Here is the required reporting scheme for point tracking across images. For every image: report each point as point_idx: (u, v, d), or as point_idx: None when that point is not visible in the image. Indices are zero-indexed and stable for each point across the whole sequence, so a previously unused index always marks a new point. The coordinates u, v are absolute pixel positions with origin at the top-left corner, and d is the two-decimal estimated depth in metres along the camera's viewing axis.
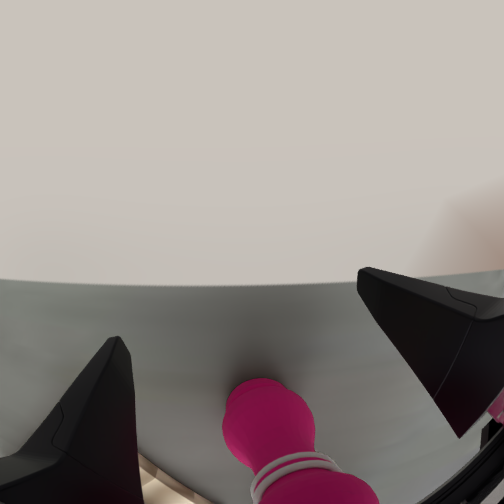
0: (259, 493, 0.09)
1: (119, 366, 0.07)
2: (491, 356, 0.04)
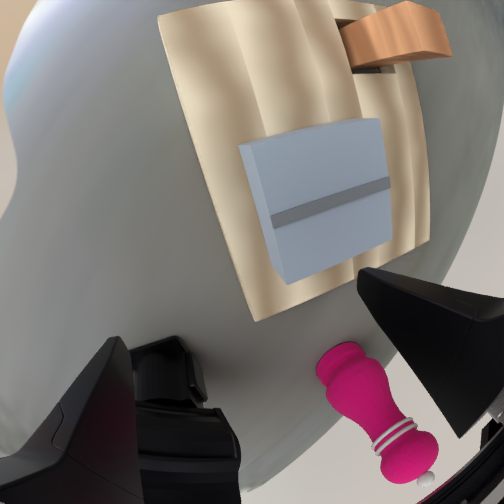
0: (416, 426, 0.19)
1: (119, 366, 0.07)
2: (491, 356, 0.04)
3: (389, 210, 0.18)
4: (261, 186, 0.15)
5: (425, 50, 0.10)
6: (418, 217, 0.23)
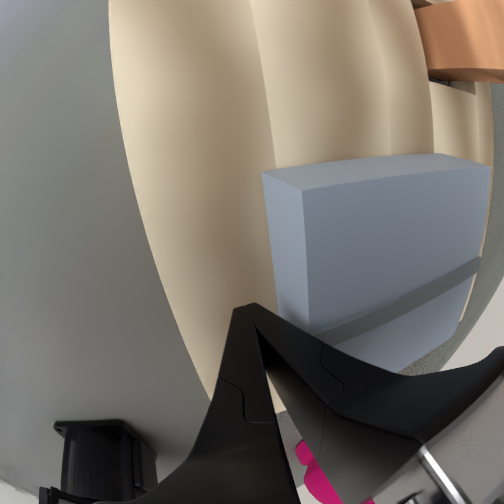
0: None
1: None
2: (352, 455, 0.04)
3: (464, 302, 0.10)
4: (305, 280, 0.07)
5: None
6: None
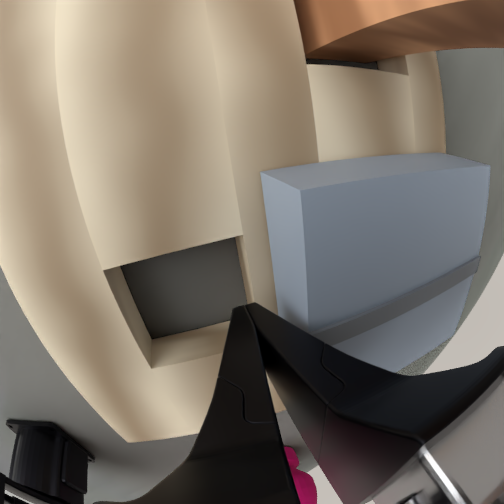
0: None
1: None
2: (352, 455, 0.04)
3: (464, 301, 0.10)
4: (304, 279, 0.07)
5: None
6: None
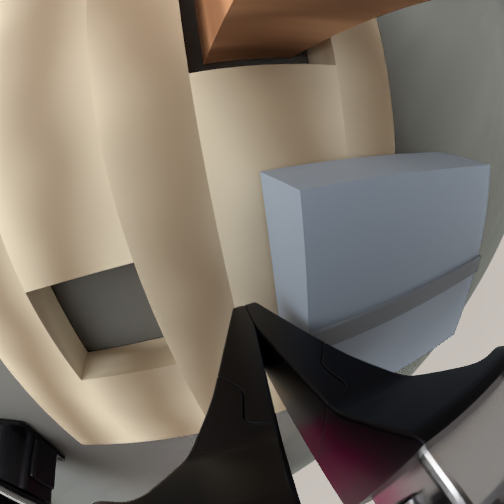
0: None
1: None
2: (352, 455, 0.04)
3: (464, 300, 0.10)
4: (304, 279, 0.07)
5: None
6: None
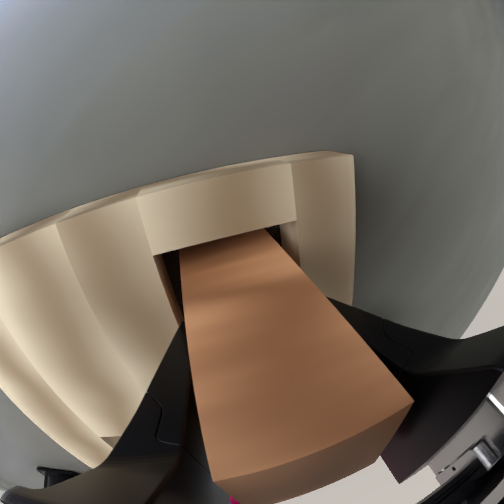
0: None
1: None
2: (423, 413, 0.04)
3: None
4: None
5: None
6: None
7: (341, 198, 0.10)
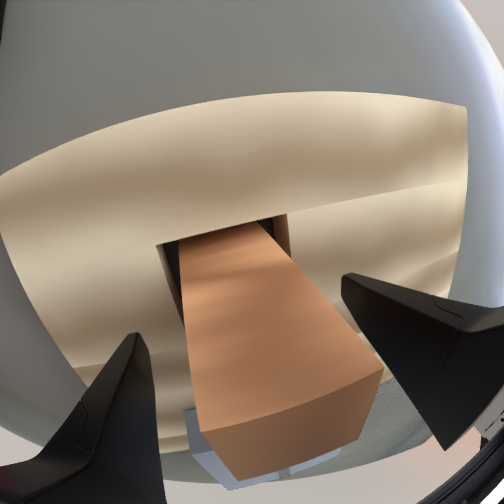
0: None
1: (140, 362, 0.07)
2: (476, 370, 0.04)
3: (258, 483, 0.15)
4: None
5: None
6: (183, 438, 0.15)
7: None
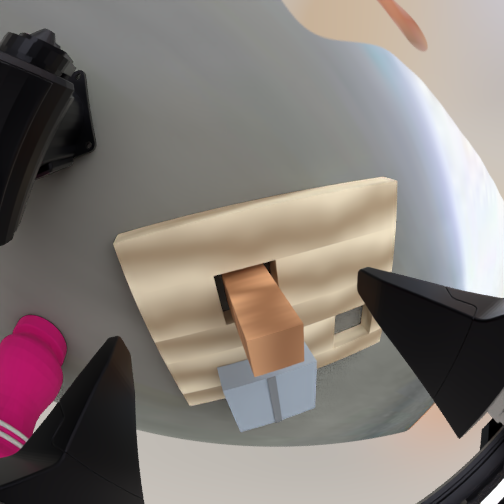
0: None
1: (119, 366, 0.07)
2: (490, 356, 0.04)
3: (260, 425, 0.27)
4: (292, 368, 0.23)
5: (257, 375, 0.17)
6: (213, 390, 0.26)
7: (370, 342, 0.30)
